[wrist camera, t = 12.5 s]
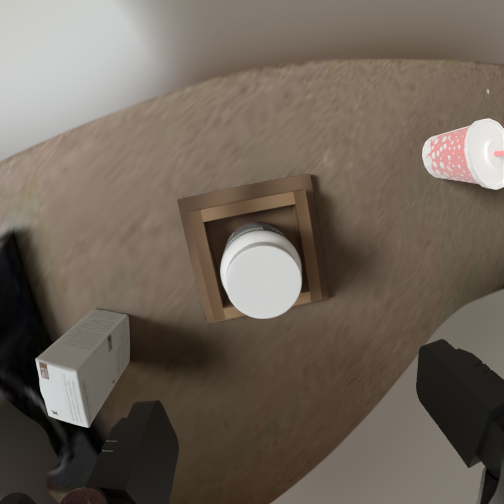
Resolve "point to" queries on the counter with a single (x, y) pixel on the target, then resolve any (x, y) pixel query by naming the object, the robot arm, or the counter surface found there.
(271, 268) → the pill bottle
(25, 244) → the counter surface
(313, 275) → the wooden tray
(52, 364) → the skincare box
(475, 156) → the beverage cup
